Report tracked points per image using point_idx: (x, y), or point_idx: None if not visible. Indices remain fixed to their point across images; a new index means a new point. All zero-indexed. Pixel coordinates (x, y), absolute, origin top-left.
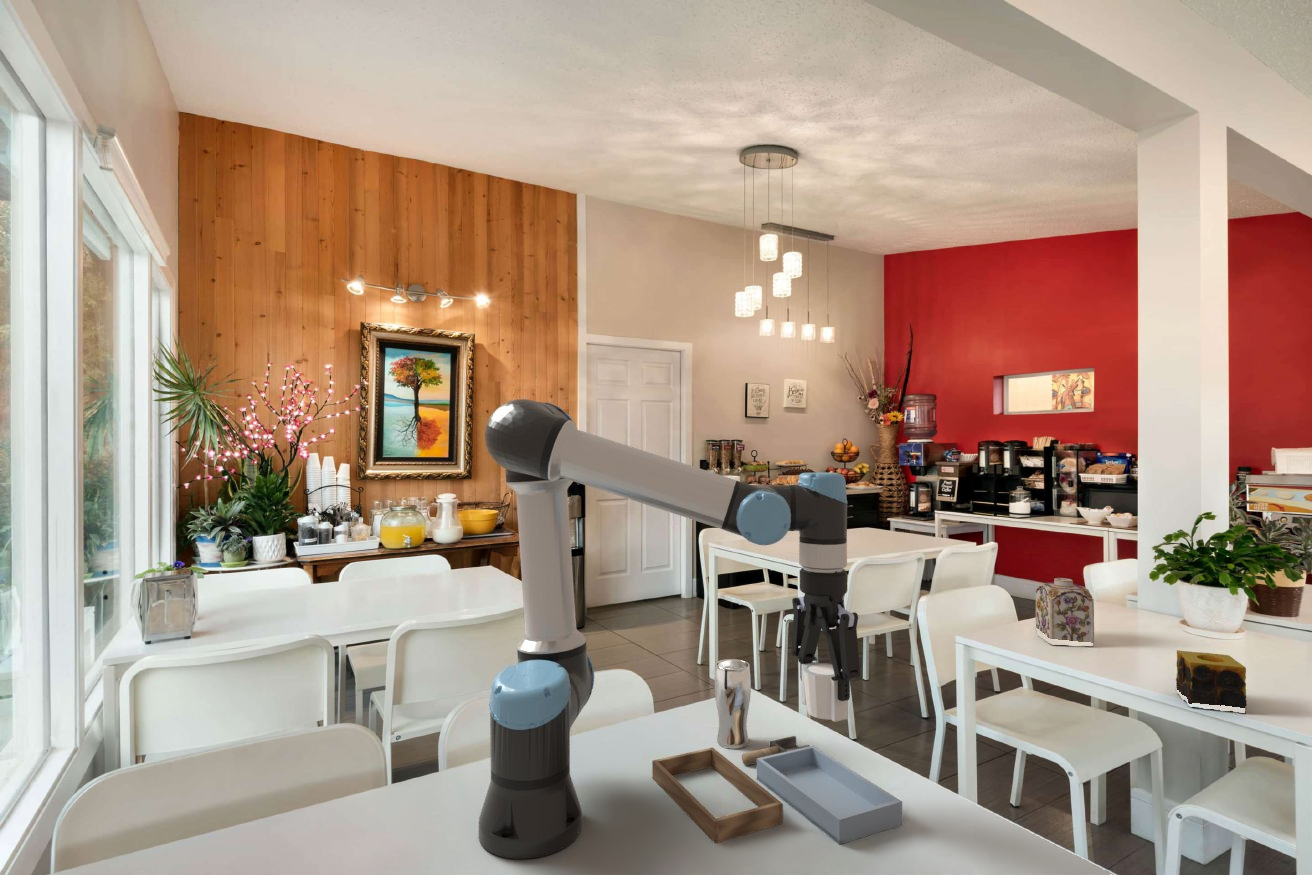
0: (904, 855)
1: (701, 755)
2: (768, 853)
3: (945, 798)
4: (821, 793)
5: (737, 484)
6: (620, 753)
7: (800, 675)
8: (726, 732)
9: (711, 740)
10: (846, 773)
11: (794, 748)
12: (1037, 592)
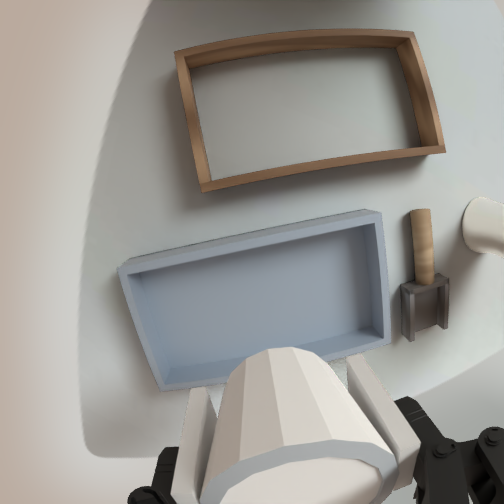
0: (97, 331)
1: (430, 124)
2: (130, 137)
3: None
4: (273, 299)
5: None
6: (470, 41)
7: (419, 405)
8: (486, 208)
9: (491, 191)
10: None
11: (412, 311)
12: None
